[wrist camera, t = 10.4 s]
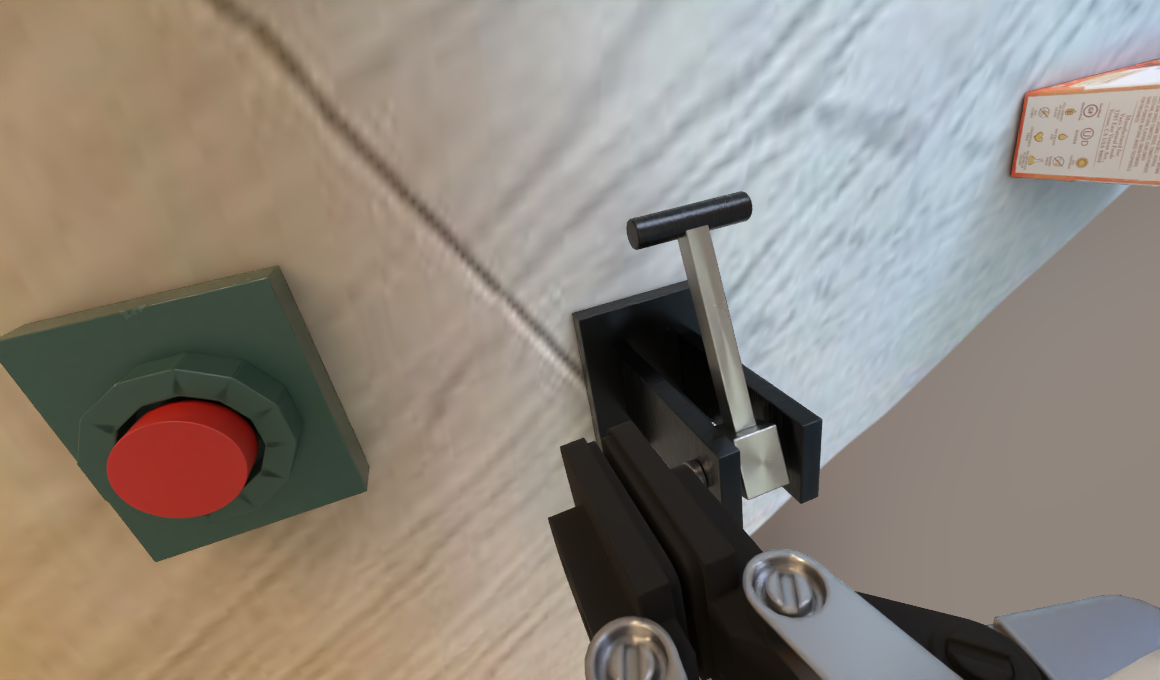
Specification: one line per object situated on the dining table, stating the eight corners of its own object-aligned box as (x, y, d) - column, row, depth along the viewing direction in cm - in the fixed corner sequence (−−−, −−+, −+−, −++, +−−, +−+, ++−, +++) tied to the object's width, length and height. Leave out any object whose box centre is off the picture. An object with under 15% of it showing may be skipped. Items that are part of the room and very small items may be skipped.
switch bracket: (571, 312, 28) (668, 416, 18) (709, 273, 30) (867, 346, 20) (598, 450, 33) (687, 597, 22) (717, 408, 35) (850, 525, 24)
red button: (103, 420, 20) (78, 444, 18) (228, 385, 21) (215, 405, 19) (164, 505, 22) (146, 534, 20) (276, 470, 23) (267, 495, 21)
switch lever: (619, 224, 22) (638, 213, 20) (726, 197, 23) (756, 184, 21) (689, 495, 24) (715, 514, 21) (787, 456, 25) (821, 471, 22)
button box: (23, 324, 21) (-54, 363, 17) (278, 265, 23) (256, 289, 19) (173, 530, 26) (137, 593, 22) (369, 466, 28) (365, 514, 25)
